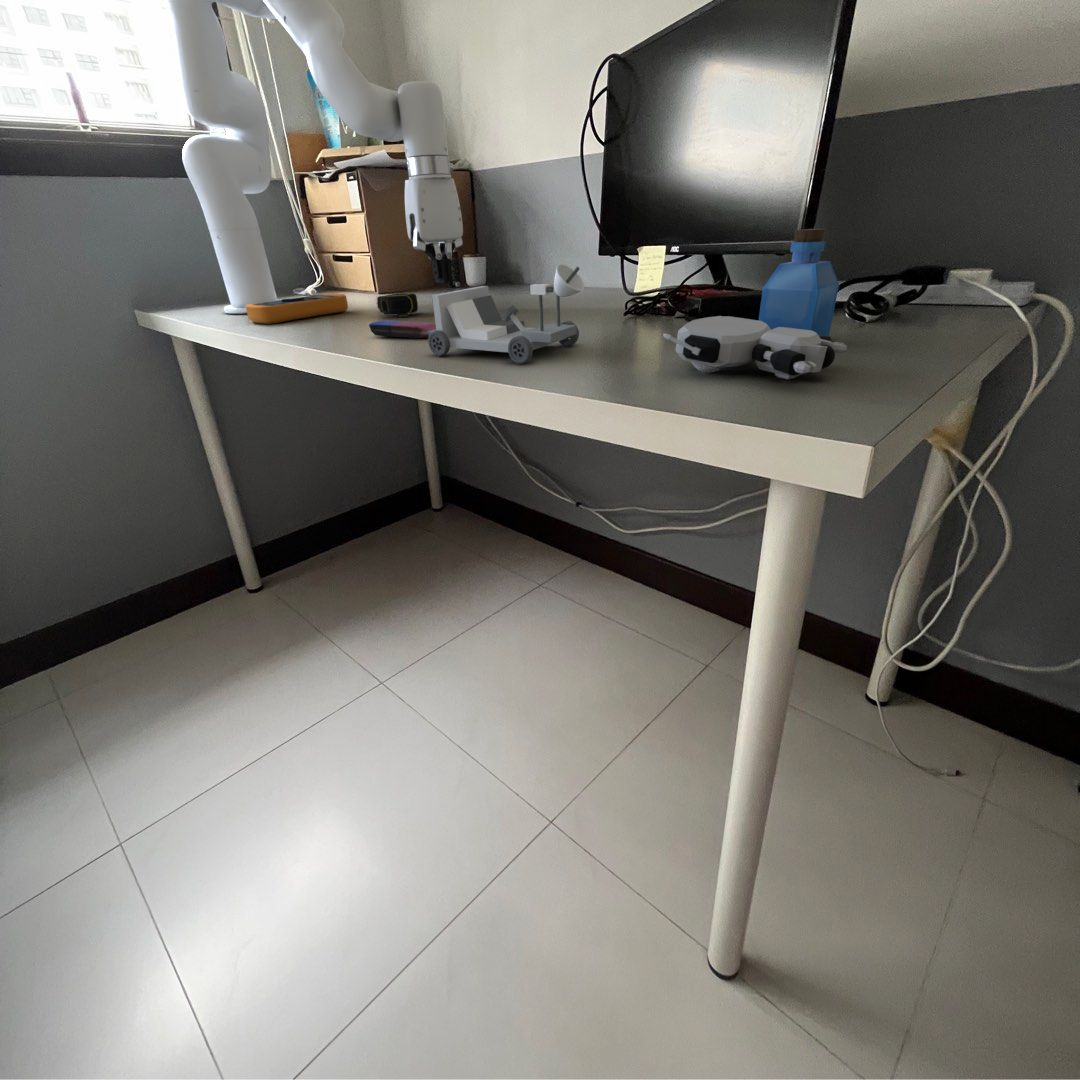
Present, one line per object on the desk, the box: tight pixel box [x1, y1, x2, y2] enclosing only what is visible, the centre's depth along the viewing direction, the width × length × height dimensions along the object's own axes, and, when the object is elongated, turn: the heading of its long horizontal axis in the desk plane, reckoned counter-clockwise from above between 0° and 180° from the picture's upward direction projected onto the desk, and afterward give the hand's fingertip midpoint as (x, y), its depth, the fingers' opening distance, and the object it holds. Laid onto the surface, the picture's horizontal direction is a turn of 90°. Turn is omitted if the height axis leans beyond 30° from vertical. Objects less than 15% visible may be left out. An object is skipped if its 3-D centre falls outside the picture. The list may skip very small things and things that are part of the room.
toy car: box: [427, 263, 585, 365], centre depth 70 cm, size 18×10×12 cm
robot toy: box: [662, 315, 848, 380], centre depth 56 cm, size 12×4×15 cm
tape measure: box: [376, 292, 419, 318], centre depth 105 cm, size 7×7×4 cm
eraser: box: [368, 320, 436, 339], centre depth 86 cm, size 11×4×2 cm, turn 67°
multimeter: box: [245, 292, 349, 325], centre depth 111 cm, size 9×18×3 cm, turn 141°
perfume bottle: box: [758, 228, 840, 336], centre depth 66 cm, size 6×6×12 cm
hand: (443, 281), depth 111 cm, fingers closed
